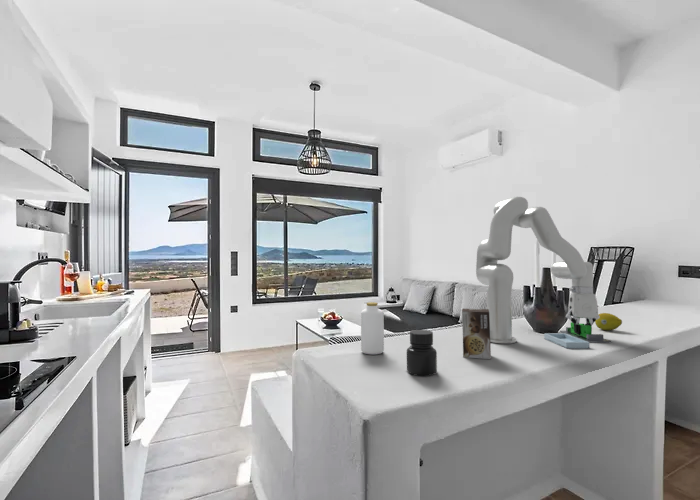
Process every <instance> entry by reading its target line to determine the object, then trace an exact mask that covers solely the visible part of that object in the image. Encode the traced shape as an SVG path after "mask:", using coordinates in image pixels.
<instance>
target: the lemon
mask: <svg viewBox="0 0 700 500" xmlns="http://www.w3.org/2000/svg"><path fill="white" fill-rule="evenodd" d="M598 315H599V316H600V318H599V319H597V320H596V321H595V322H594V324H595V326H596V327H597V328H598V329H600V330H602V331H607V332H608V331H615V330H616V329H618V328H619V327H621V325H622V324H623V320H622V319H621V318H619V317H618V316H616V315H615V314H612V313H610V312H602V313H601V312H600V313H598Z"/></svg>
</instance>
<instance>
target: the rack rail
mask: <svg viewBox="0 0 700 500" xmlns="http://www.w3.org/2000/svg"><path fill="white" fill-rule="evenodd" d="M559 333H565V334H568V335H571V336H573V337H576V338H579V339H582V340H584V341H587V342H589V344H590V343H595V344H596V343H597V344H599V343H601V344H602V343H603V344H604V343H609V342H611V343H612V340H611V339H610V340H609V339H607V338H604V334H602V333H592V334H586V338H585V337H582V336H580V335H577V334H574V333H571V326H569V327H568V326H567V327H565V330H559Z"/></svg>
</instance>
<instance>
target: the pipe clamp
mask: <svg viewBox="0 0 700 500" xmlns="http://www.w3.org/2000/svg"><path fill="white" fill-rule="evenodd" d="M585 324H586V323H579V325H580V326H581V334H576V333H575V332H574V324H573V323H572V321H570V327H571V333H574V335H577V336H579V337H582V338H585V339H586V334H593V333H592V331H593V329H592V330H591V326H589V325H585Z"/></svg>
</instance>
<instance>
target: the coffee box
mask: <svg viewBox="0 0 700 500" xmlns="http://www.w3.org/2000/svg"><path fill="white" fill-rule="evenodd" d="M461 323H462V357H463V358H466V359H467V358H468V359H483V360H491V359H492V355H491V354H492V349H491V342H490V315H489V309H487V308H462V310H461Z"/></svg>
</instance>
